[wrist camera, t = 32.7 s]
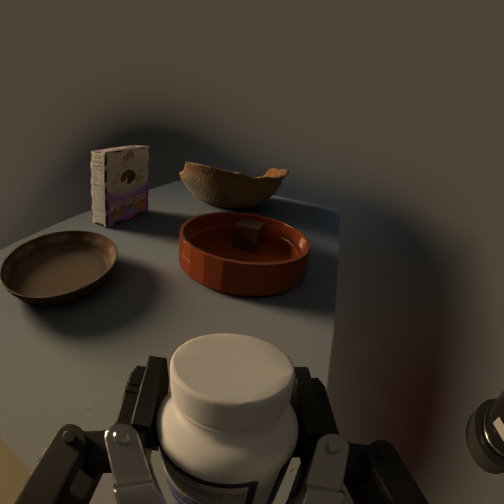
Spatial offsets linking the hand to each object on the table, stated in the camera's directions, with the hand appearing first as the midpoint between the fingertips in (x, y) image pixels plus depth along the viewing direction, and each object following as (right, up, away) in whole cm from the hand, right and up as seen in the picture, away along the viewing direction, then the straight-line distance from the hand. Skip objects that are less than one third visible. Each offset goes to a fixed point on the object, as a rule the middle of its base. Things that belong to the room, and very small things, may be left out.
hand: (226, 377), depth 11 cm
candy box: (-30, +14, +49) cm, 59 cm away
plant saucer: (-29, +2, +24) cm, 38 cm away
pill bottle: (-1, -8, -1) cm, 8 cm away
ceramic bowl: (-5, +19, +68) cm, 70 cm away
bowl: (-1, +4, +36) cm, 37 cm away
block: (0, +7, +42) cm, 42 cm away
